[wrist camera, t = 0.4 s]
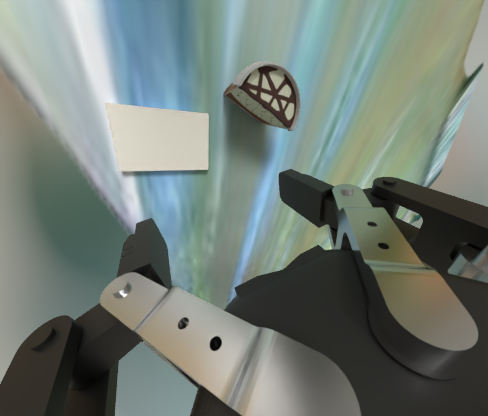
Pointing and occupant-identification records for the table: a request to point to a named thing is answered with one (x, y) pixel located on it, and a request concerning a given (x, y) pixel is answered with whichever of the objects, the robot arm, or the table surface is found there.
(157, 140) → the board
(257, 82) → the brown lattice half cylinder
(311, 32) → the table surface
